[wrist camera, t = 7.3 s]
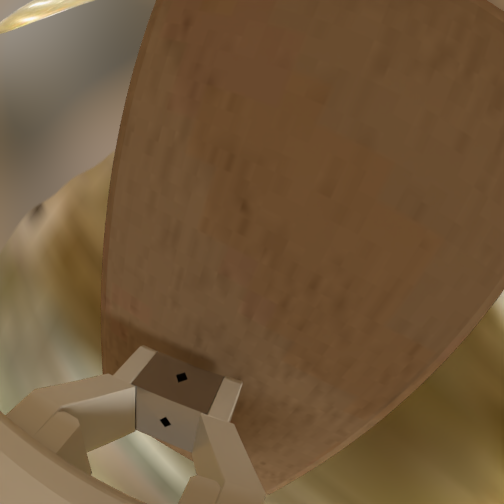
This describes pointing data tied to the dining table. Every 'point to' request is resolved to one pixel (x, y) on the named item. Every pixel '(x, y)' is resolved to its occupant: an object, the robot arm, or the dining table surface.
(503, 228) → the wooden block
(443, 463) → the dining table surface
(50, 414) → the robot arm
